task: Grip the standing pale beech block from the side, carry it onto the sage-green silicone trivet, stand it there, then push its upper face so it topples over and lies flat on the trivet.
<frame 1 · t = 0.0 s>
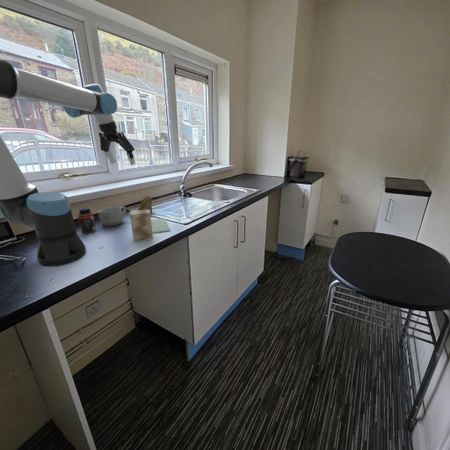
hand: (123, 163, 127), 28 cm above the worktop, tool tilted 20°, fingers open, 13 cm apart
supplement bottle: (89, 232, 112), on the worktop
trivet: (154, 226, 118), on the worktop
teacup: (115, 223, 123), on the worktop
rock: (144, 214, 137), on the worktop
beech block: (143, 237, 106), on the worktop
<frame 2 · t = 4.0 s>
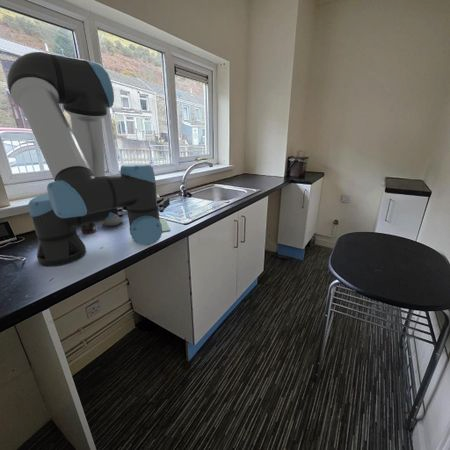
hand: (138, 199, 89), 20 cm above the worktop, tool horizontal, fingers open, 13 cm apart
nothing on the worktop moved.
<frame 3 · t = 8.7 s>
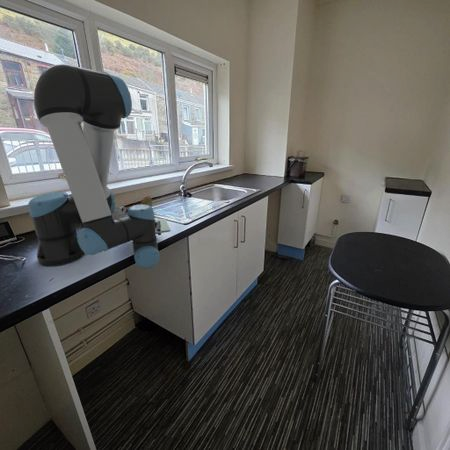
hand: (140, 220, 108), 7 cm above the worktop, tool horizontal, fingers closed on beech block, 8 cm apart
beech block: (143, 237, 106), on the worktop, touching gripper
everything else where it was.
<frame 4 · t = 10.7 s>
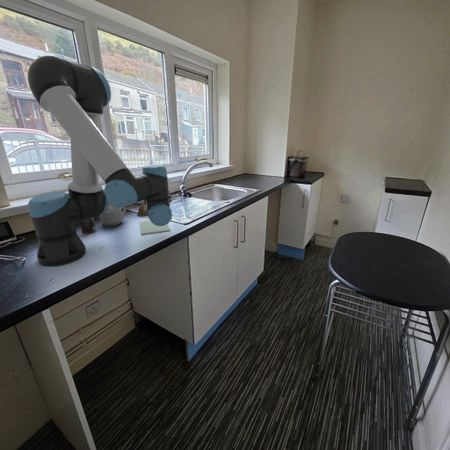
hand: (150, 191, 111), 18 cm above the worktop, tool horizontal, fingers closed on beech block, 8 cm apart
beech block: (153, 208, 109), point 11 cm above the worktop, touching gripper
everything else where it was.
when the fingers open (8 cm above the worktop, at t = 12.8 s): beech block drops 1 cm, resting on trivet.
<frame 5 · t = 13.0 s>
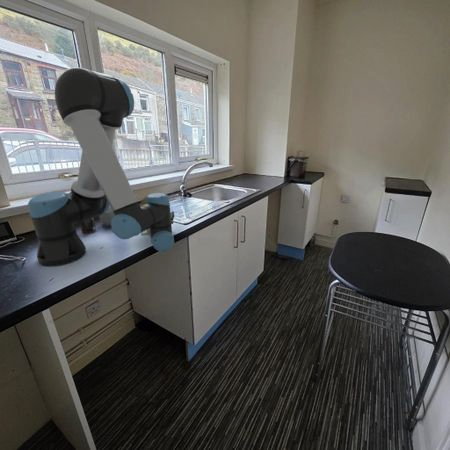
hand: (152, 211, 114), 8 cm above the worktop, tool horizontal, fingers open, 10 cm apart
beech block: (155, 229, 113), point 1 cm above the worktop, touching trivet
everything else where it was.
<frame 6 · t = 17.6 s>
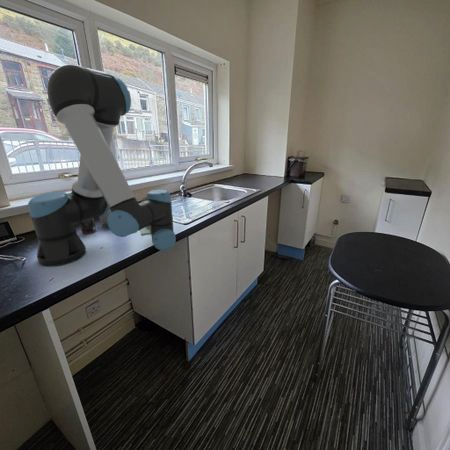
hand: (153, 208, 112), 10 cm above the worktop, tool horizontal, fingers closed
beech block: (154, 222, 114), point 3 cm above the worktop, tilted 90°, touching trivet
everything else where it was.
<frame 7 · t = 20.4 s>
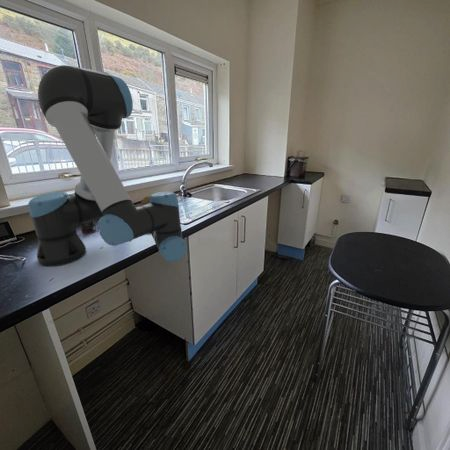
hand: (153, 217, 101), 10 cm above the worktop, tool horizontal, fingers closed
nothing on the worktop moved.
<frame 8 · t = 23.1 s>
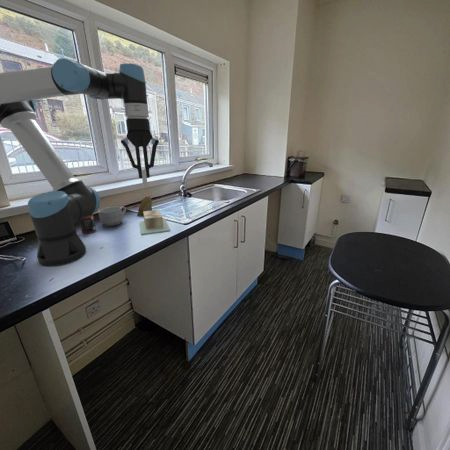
hand: (145, 186, 90), 24 cm above the worktop, tool pointing down, fingers closed
nothing on the worktop moved.
at the end: beech block tilted 90°; beech block inside the target area (4.5 cm from its centre), point 3.1 cm above the worktop; the gripper is holding nothing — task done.
